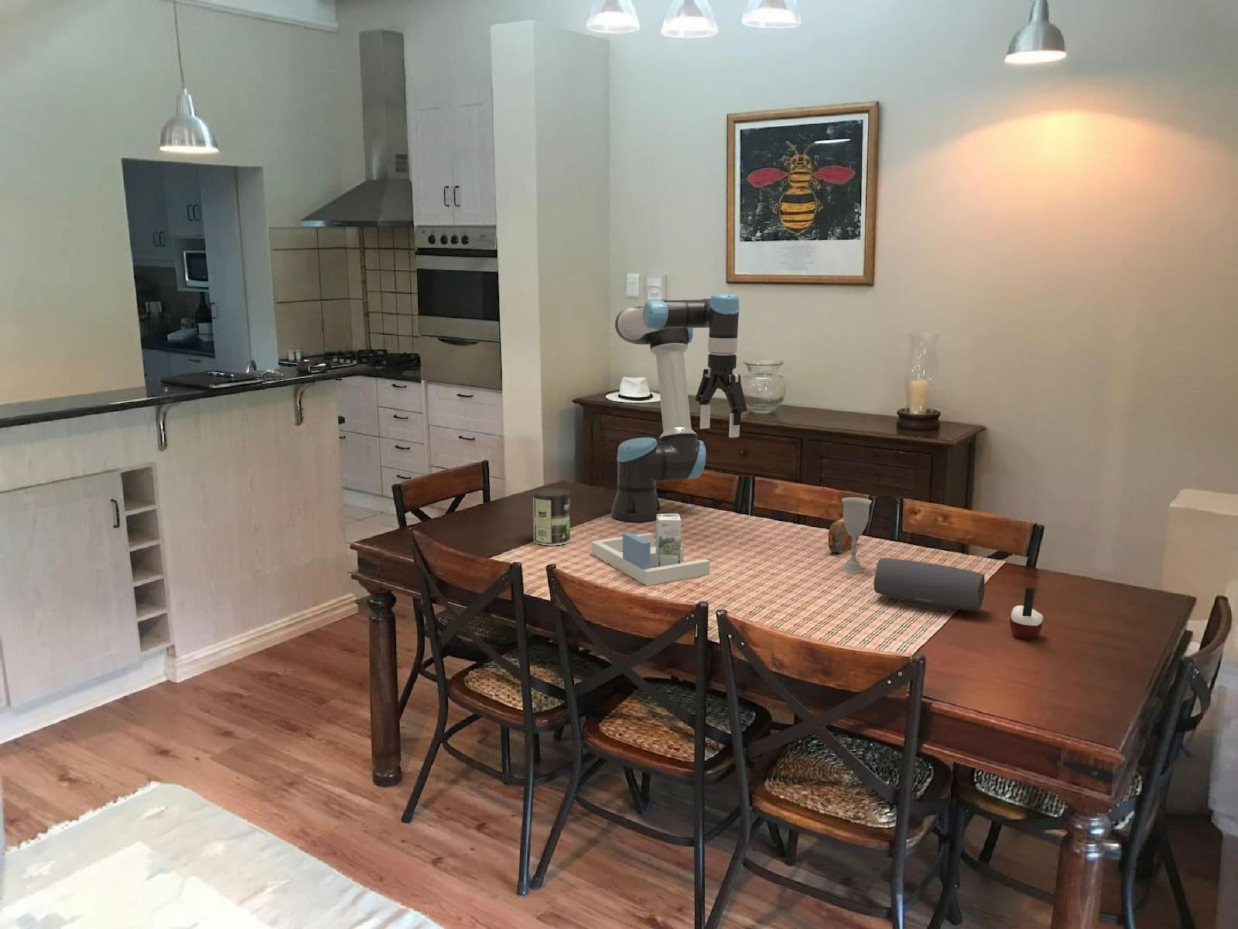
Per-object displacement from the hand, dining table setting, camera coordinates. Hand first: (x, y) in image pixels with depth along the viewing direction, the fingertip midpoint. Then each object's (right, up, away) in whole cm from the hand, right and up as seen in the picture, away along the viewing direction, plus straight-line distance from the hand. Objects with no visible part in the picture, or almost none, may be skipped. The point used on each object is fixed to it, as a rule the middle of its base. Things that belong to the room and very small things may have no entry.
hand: (719, 432), depth 265 cm
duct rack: (-19, -34, -12) cm, 41 cm away
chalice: (+32, -35, -16) cm, 50 cm away
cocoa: (+58, -45, -59) cm, 94 cm away
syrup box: (-15, -36, -18) cm, 42 cm away
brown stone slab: (+34, -32, +2) cm, 46 cm away
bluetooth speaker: (+43, -41, -41) cm, 72 cm away
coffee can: (-45, -30, +8) cm, 55 cm away
